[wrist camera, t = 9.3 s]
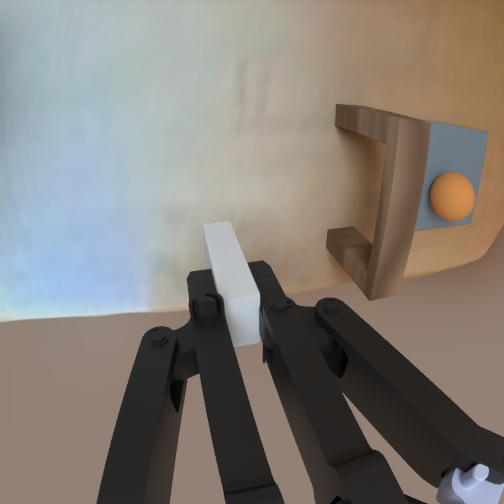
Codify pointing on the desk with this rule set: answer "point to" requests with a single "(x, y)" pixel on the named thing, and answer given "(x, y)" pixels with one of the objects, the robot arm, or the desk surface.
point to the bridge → (385, 200)
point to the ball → (452, 196)
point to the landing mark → (450, 167)
